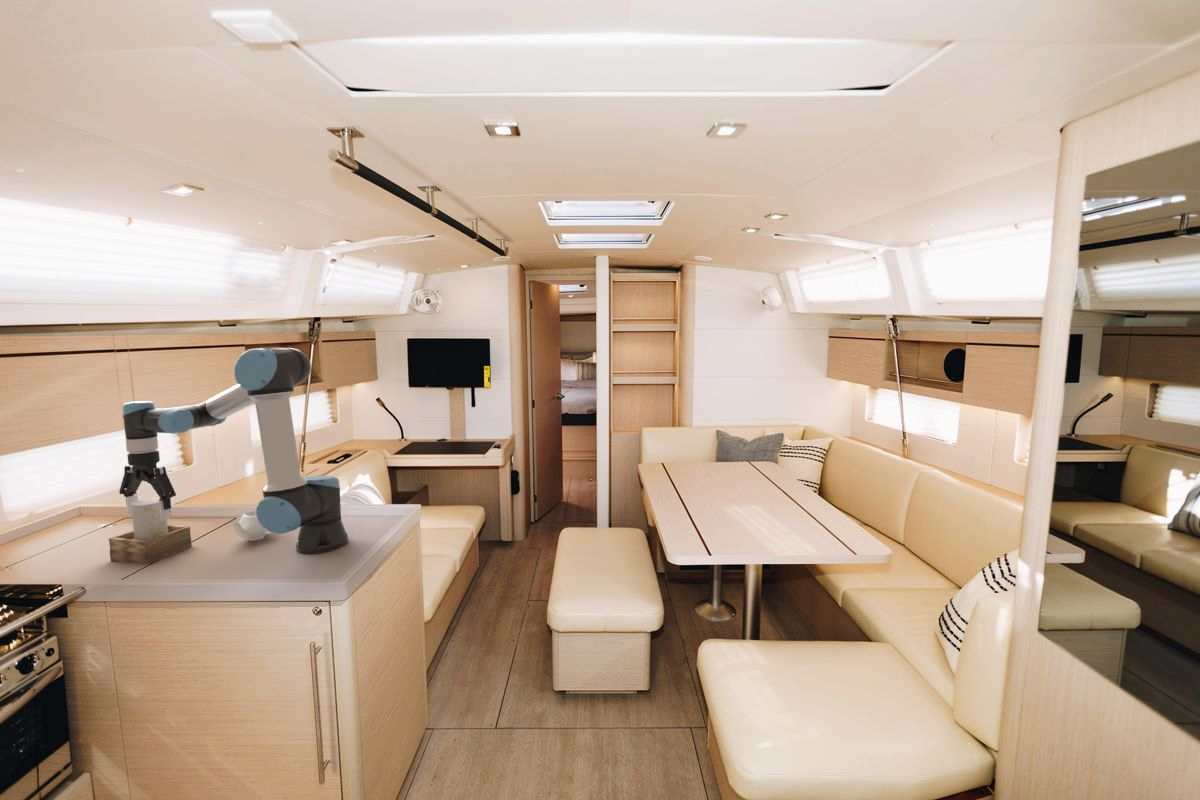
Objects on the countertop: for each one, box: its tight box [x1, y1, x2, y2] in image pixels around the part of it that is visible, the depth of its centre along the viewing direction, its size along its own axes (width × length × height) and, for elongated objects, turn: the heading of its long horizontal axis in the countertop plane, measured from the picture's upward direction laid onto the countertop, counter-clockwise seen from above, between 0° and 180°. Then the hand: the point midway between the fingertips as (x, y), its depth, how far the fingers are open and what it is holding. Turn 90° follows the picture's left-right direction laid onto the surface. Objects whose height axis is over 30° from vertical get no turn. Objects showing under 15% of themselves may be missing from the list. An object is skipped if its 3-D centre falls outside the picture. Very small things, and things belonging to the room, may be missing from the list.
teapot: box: [231, 510, 269, 542], centre depth 182 cm, size 10×20×9 cm, turn 178°
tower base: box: [109, 537, 193, 564], centre depth 170 cm, size 14×14×4 cm
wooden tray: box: [108, 524, 192, 553], centre depth 169 cm, size 14×14×4 cm
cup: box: [131, 497, 168, 541], centre depth 169 cm, size 8×8×12 cm
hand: (149, 517), depth 169 cm, fingers open, 13 cm apart
